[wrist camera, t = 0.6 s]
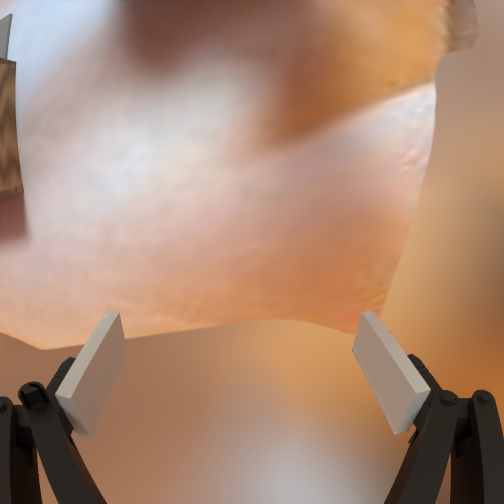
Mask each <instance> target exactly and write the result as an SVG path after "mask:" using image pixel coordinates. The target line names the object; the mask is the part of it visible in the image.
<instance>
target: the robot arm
mask: <svg viewBox="0 0 504 504" xmlns="http://www.w3.org/2000/svg"><path fill="white" fill-rule="evenodd" d="M352 352H353V354H354V356H355V358H356V359H357V361H358V363H359V365H360V367H361V369H362V371H363V373H364V374H365V377H366V379H367V381H368V383H369V385H370V386H371V388H372V390H373V392H374V394H375V396H376V398H377V400H378V402H379V404H380V406H381V408H382V410H383V412H384V414H385V416H386V418H387V420H388V422H389V424H390V426H391V429H392V431H393V433H394V435H396V434H400V433H404V432H407V431H409V430H410V428H411V426H412V424H413V423H414V425H415V426H416V431H415V432H414V434H413V435H412V437H411V439H410V440H409V442H408V443H410V445H409V448H408V450H407V453H406V456H405V458H404V461H403V463H402V465H401V468H400V470H399V472H398V475H397V477H396V479H395V482H394V484H393V486H392V488H391V490H390V493H389V494H388V496H387V498H386V500H385V502H384V504H435V502H436V499H437V496H438V493H439V490H440V487H441V483H442V481H443V477H444V474H445V470H446V467H447V463H448V459H449V455H450V452H451V492H450V504H504V437H503V432H502V428H501V423H500V419H499V414H498V410H497V406H496V402H495V399H494V397H493V395H492V394H491V393H489V392H488V391H485V390H477V391H475V392H474V394H473V395H472V397H471V398H458V396H457V395H456V394H454V393H453V392H451V391H448V390H442V388H441V387H440V386H439V384H438V383H437V382H436V380H435V379H434V377H433V376H432V375H431V373H429V371H428V369H427V368H426V367H425V365H424V364H423V363H422V361H421V360H420V359H419V358H417V357H416V356H414V355H413V354H410V355H406V354H405V352H404V351H403V350H402V348H401V347H400V346H399V344H398V343H397V341H396V340H395V339H394V338H393V336H392V335H391V333H390V332H389V331H388V329H387V328H386V327H385V325H384V324H383V323H382V321H381V320H380V319H379V318H378V316H377V315H376V314H375V312H374V311H363V312H361V315H360V320H359V324H358V329H357V333H356V338H355V342H354V346H353V350H352ZM127 354H128V350H127V346H126V341H125V337H124V332H123V328H122V323H121V318H120V313H119V312H110V311H107V312H106V313H105V315H104V316H103V318H102V319H101V321H100V322H99V324H98V325H97V327H96V328H95V330H94V331H93V333H92V334H91V336H90V338H89V339H88V341H87V342H86V344H85V345H84V347H83V349H82V350H81V352H80V353H79V355H78V357H77V358H72V357H69V358H68V359H67V360H65V361H64V362H63V363H62V364H61V366H60V367H59V369H58V371H57V372H56V374H55V375H54V377H53V378H52V380H51V382H50V383H49V385H48V386H47V388H46V390H45V388H44V386H43V385H42V384H41V383H39V382H28V383H26V384H24V385H23V386H22V387H21V388H20V390H19V392H18V397H19V399H20V401H21V402H22V404H23V405H13V403H12V401H11V400H10V399H9V398H7V397H3V396H2V397H0V504H42V498H41V491H40V483H39V474H38V462H37V450H38V453H39V456H40V459H41V462H42V465H43V467H44V470H45V473H46V475H47V478H48V480H49V483H50V485H51V488H52V490H53V492H54V494H55V497H56V499H57V501H58V503H59V504H107V503H106V501H105V499H104V498H103V496H102V495H101V493H100V491H99V490H98V488H97V486H96V484H95V482H94V481H93V479H92V477H91V475H90V473H89V471H88V470H87V468H86V466H85V464H84V462H83V460H82V458H81V456H80V454H79V451H78V449H77V447H76V445H75V443H74V441H73V439H72V437H71V433H72V431H73V430H74V431H75V433H76V435H77V436H78V437H81V438H85V439H89V440H93V437H94V435H95V432H96V430H97V427H98V424H99V422H100V419H101V416H102V414H103V411H104V409H105V406H106V404H107V401H108V398H109V396H110V394H111V391H112V389H113V387H114V384H115V382H116V379H117V377H118V374H119V372H120V370H121V368H122V365H123V363H124V361H125V358H126V356H127Z"/></svg>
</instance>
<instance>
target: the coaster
mask: <svg viewBox="0 0 504 504" xmlns="http://www.w3.org/2000/svg"><path fill="white" fill-rule="evenodd" d="M11 19H12V14H11V13H10V14H9V15H7V16H6V17H4V18H3V19H1V20H0V58H3V59H7V51H8V41H9V33H10V26H11Z"/></svg>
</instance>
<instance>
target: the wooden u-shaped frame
mask: <svg viewBox="0 0 504 504" xmlns="http://www.w3.org/2000/svg"><path fill="white" fill-rule="evenodd" d="M15 72H16V62H14V61H10V60H7V59H3V58H0V199H2V198H5V197H8V196H11V195H14V194H17V193H20V192H23V185H22V179H21V172H20V164H19V156H18V146H17V134H16V115H15Z"/></svg>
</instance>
